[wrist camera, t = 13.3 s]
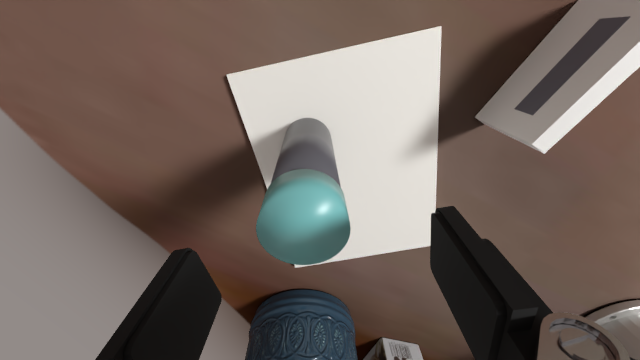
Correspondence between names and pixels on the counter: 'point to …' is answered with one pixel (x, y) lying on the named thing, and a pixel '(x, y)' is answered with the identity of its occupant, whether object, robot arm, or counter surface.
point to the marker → (304, 199)
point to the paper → (360, 130)
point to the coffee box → (394, 350)
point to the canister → (302, 328)
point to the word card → (568, 73)
